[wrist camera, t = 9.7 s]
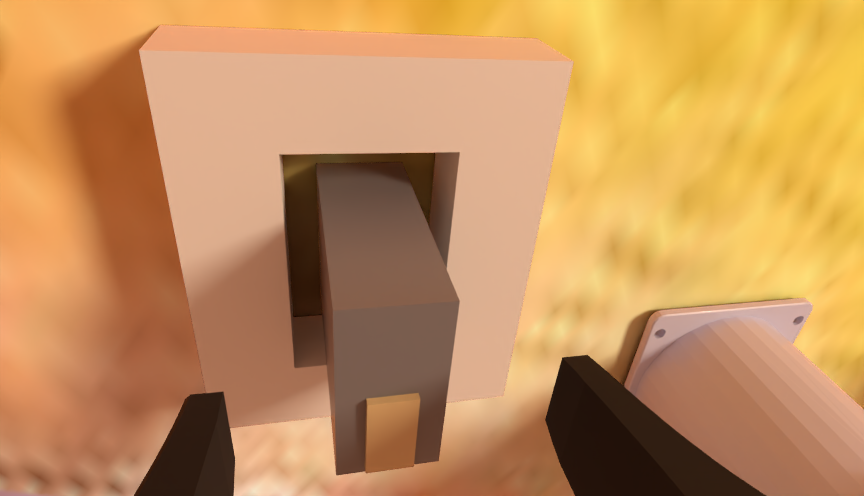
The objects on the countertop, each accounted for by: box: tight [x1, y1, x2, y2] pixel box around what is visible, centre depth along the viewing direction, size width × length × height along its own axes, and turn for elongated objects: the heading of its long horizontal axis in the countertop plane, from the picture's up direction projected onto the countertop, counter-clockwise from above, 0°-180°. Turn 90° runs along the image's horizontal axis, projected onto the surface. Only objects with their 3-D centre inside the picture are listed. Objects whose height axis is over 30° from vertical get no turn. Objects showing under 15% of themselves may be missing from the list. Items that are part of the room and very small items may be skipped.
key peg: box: [316, 162, 460, 475], centre depth 15 cm, size 3×5×7 cm, turn 176°
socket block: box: [139, 25, 573, 428], centre depth 17 cm, size 12×10×2 cm
